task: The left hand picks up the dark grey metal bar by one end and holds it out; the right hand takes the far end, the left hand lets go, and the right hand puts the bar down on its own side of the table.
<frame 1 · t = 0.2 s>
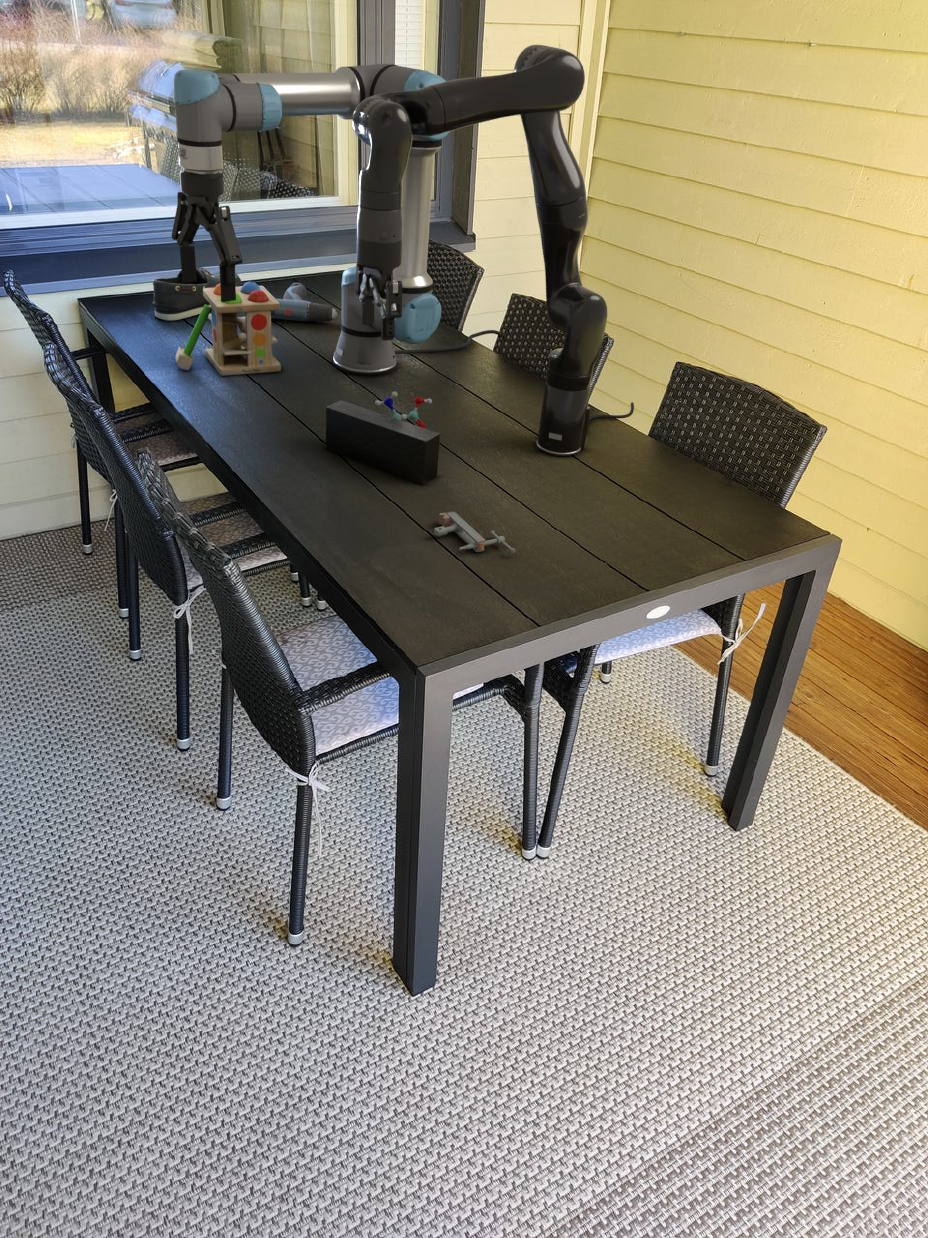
left hand: (208, 290, 186), 28 cm above the table, tool pointing down, fingers open, 13 cm apart
right hand: (377, 331, 171), 29 cm above the table, tool pointing down, fingers open, 8 cm apart
boat shoe: (200, 305, 265), on the table
pounding bench toy: (225, 365, 230), on the table
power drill: (305, 313, 267), on the table
bar: (380, 462, 194), on the table
molecular model: (399, 431, 207), on the table
clamp: (469, 542, 171), on the table
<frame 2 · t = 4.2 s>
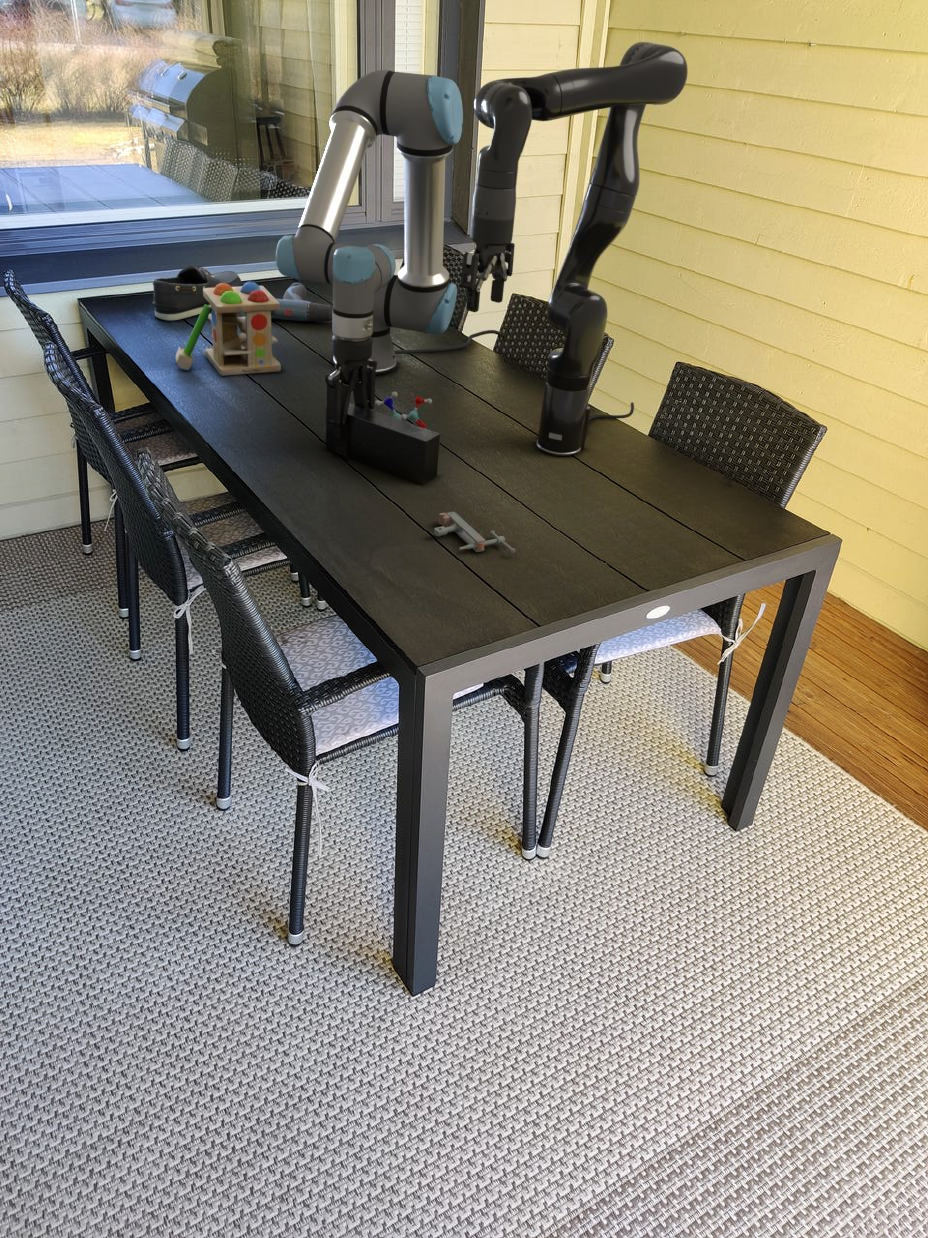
left hand: (350, 449, 197), 1 cm above the table, tool pointing down, fingers closed on bar, 5 cm apart
right hand: (484, 306, 179), 32 cm above the table, tool pointing down, fingers open, 8 cm apart
bar: (380, 462, 194), on the table, touching left hand
everything else where it was.
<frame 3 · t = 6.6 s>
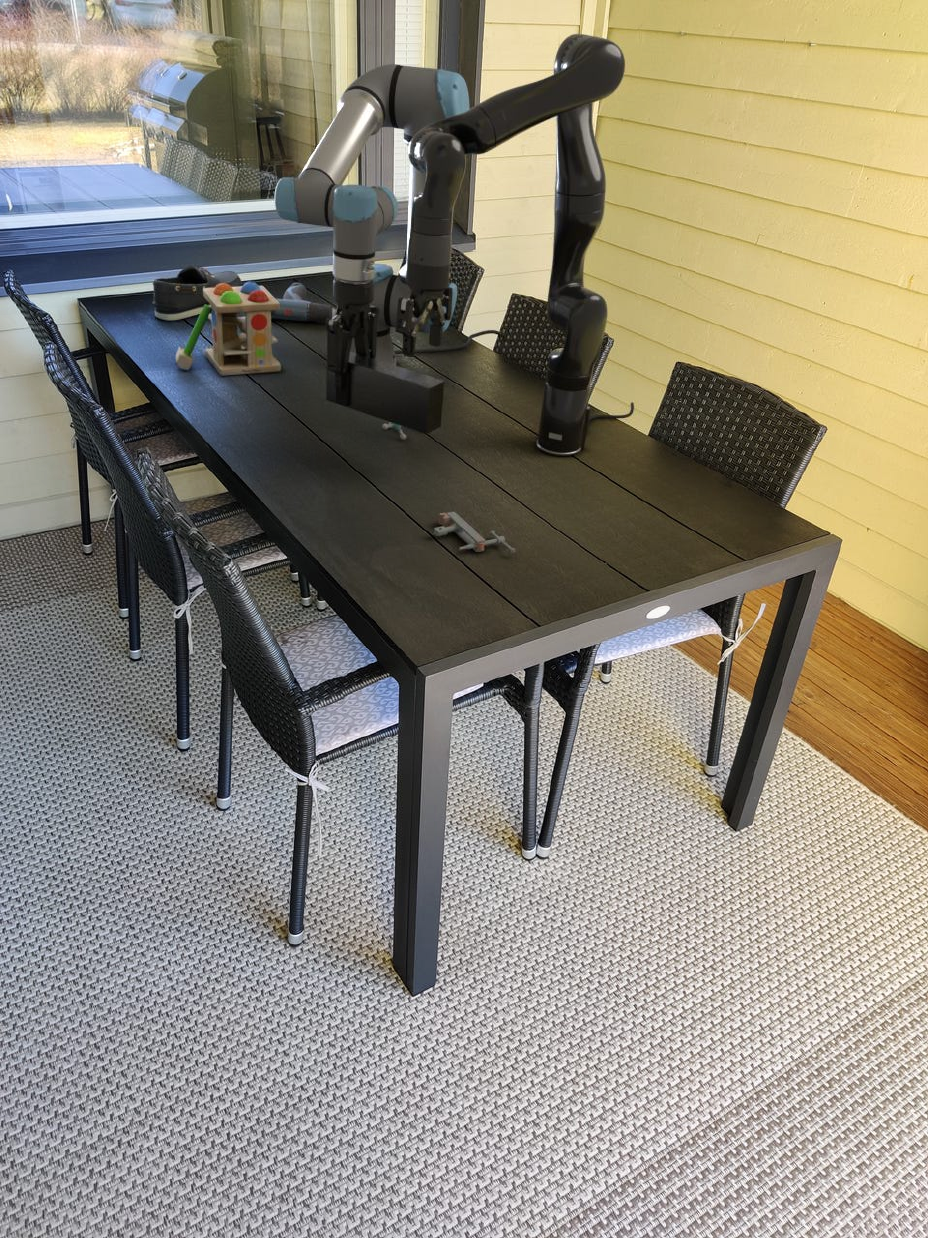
left hand: (351, 399, 191), 11 cm above the table, tool pointing down, fingers closed on bar, 5 cm apart
right hand: (421, 350, 177), 25 cm above the table, tool pointing down, fingers open, 8 cm apart
bar: (382, 413, 188), point 10 cm above the table, touching left hand
everything else where it was.
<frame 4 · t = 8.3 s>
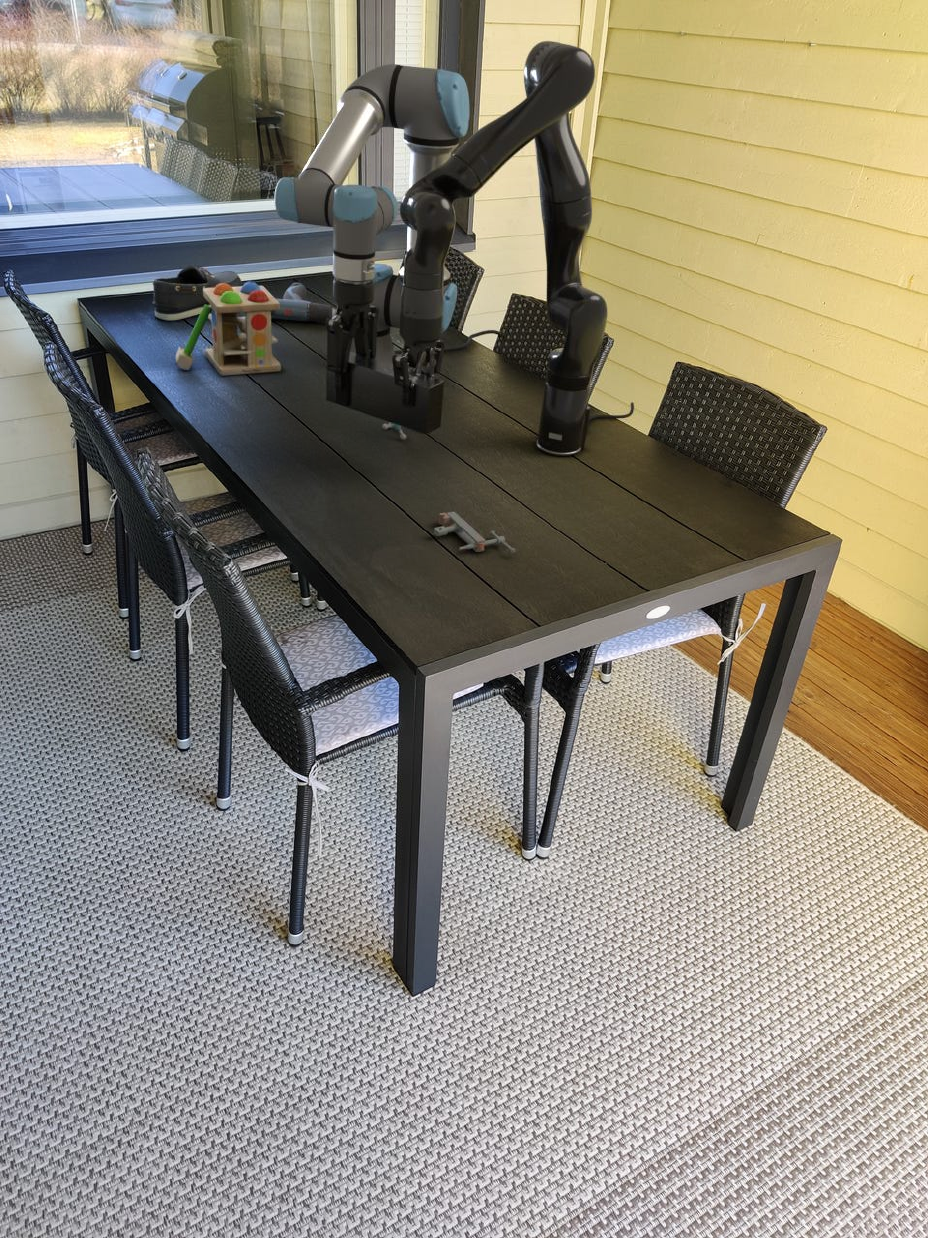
left hand: (351, 399, 191), 11 cm above the table, tool pointing down, fingers closed on bar, 5 cm apart
right hand: (416, 401, 183), 15 cm above the table, tool pointing down, fingers closed on bar, 5 cm apart
bar: (382, 413, 188), point 10 cm above the table, touching left hand, right hand
everything else where it was.
when the left hand's fingers open (11 cm above the table, at t = 9.2 s): bar stays where it is, held by the right hand.
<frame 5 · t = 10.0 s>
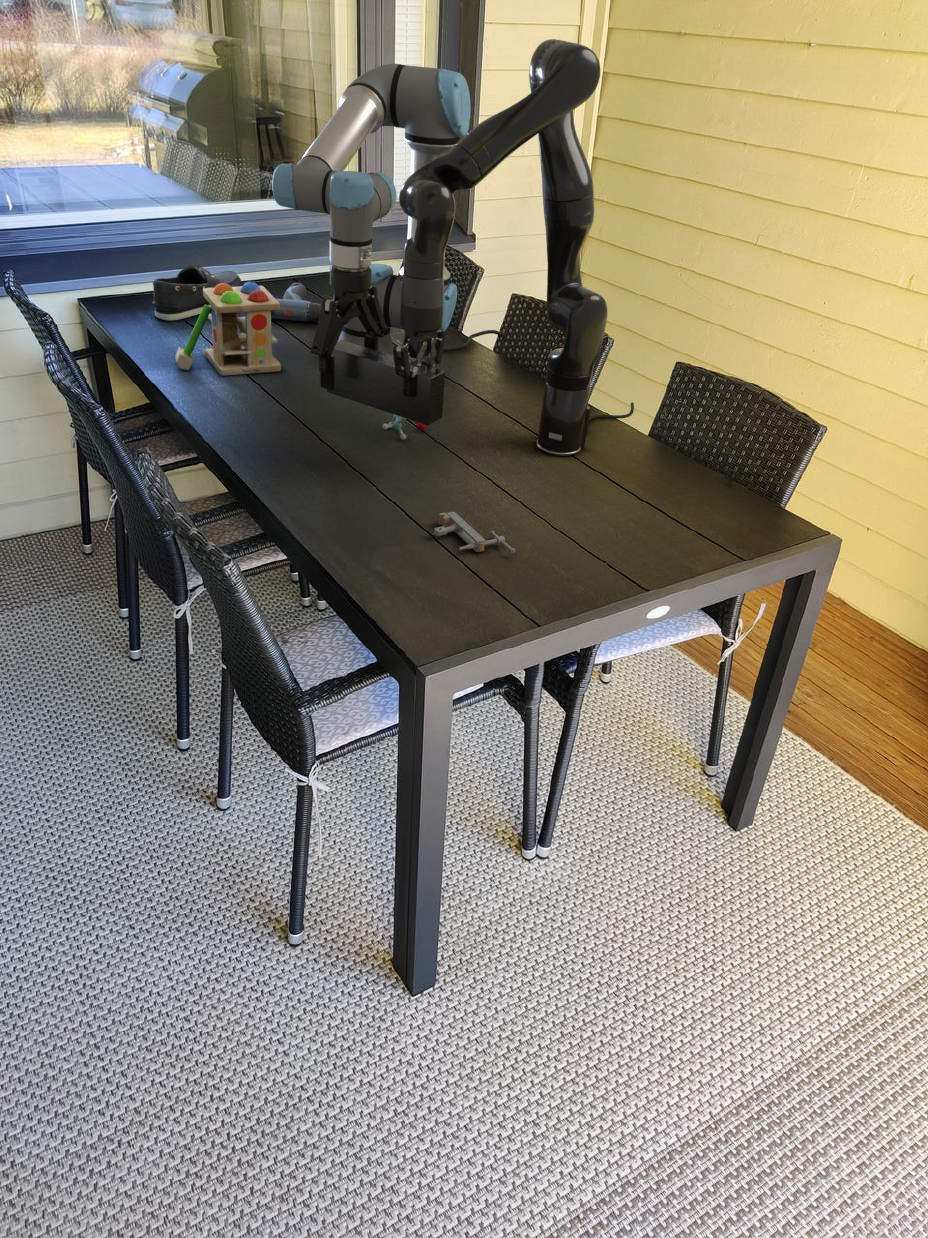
left hand: (349, 378, 189), 15 cm above the table, tool pointing down, fingers open, 13 cm apart
right hand: (417, 391, 182), 17 cm above the table, tool pointing down, fingers closed on bar, 5 cm apart
bar: (383, 404, 187), point 12 cm above the table, touching right hand
everything else where it was.
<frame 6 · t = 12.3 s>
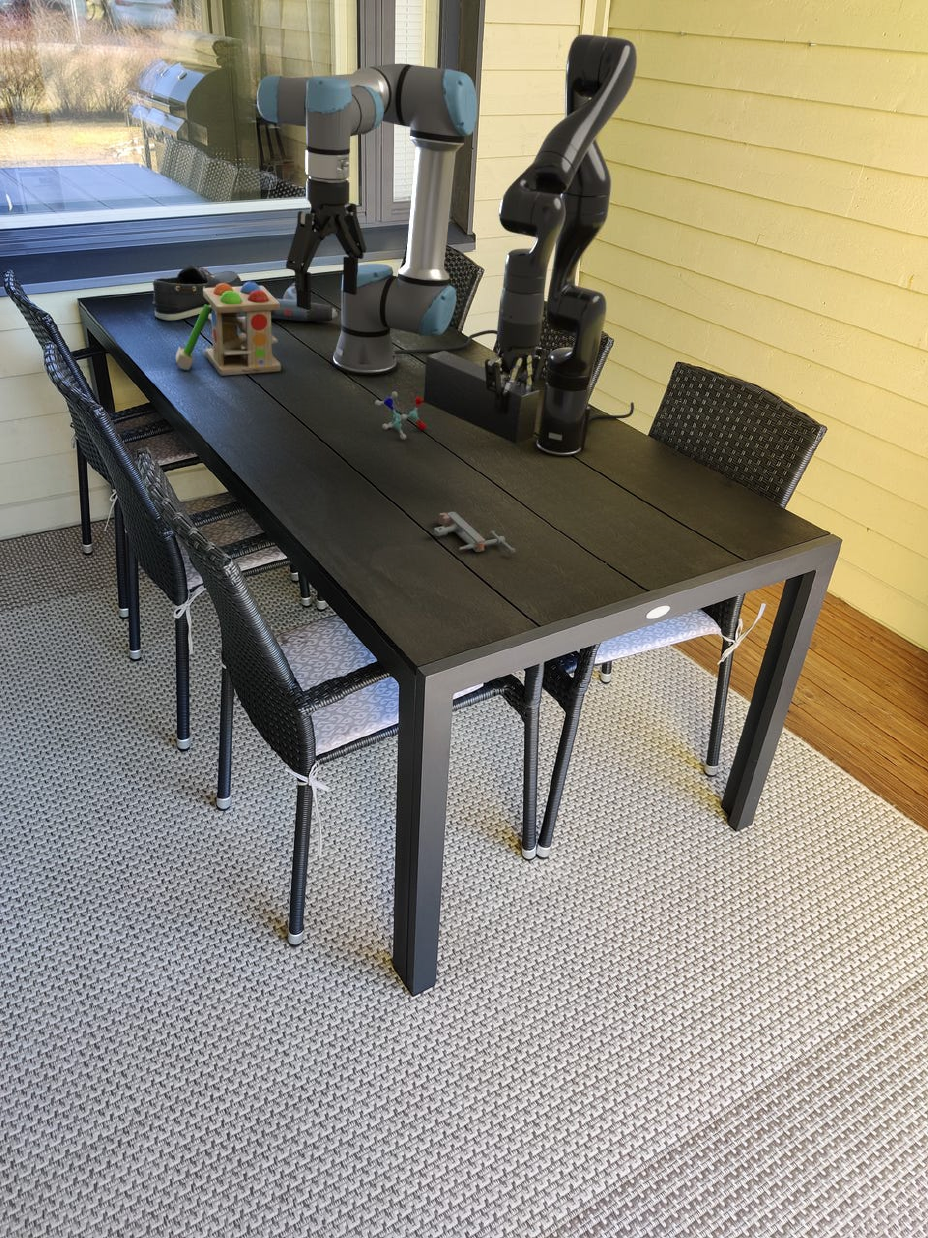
left hand: (327, 300, 183), 29 cm above the table, tool pointing down, fingers open, 13 cm apart
right hand: (510, 409, 176), 18 cm above the table, tool pointing down, fingers closed on bar, 5 cm apart
bar: (477, 419, 182), point 13 cm above the table, touching right hand
everything else where it was.
when the right hand's fingers open (6 cm above the table, at t = 16.3 s): bar drops 2 cm, on the table.
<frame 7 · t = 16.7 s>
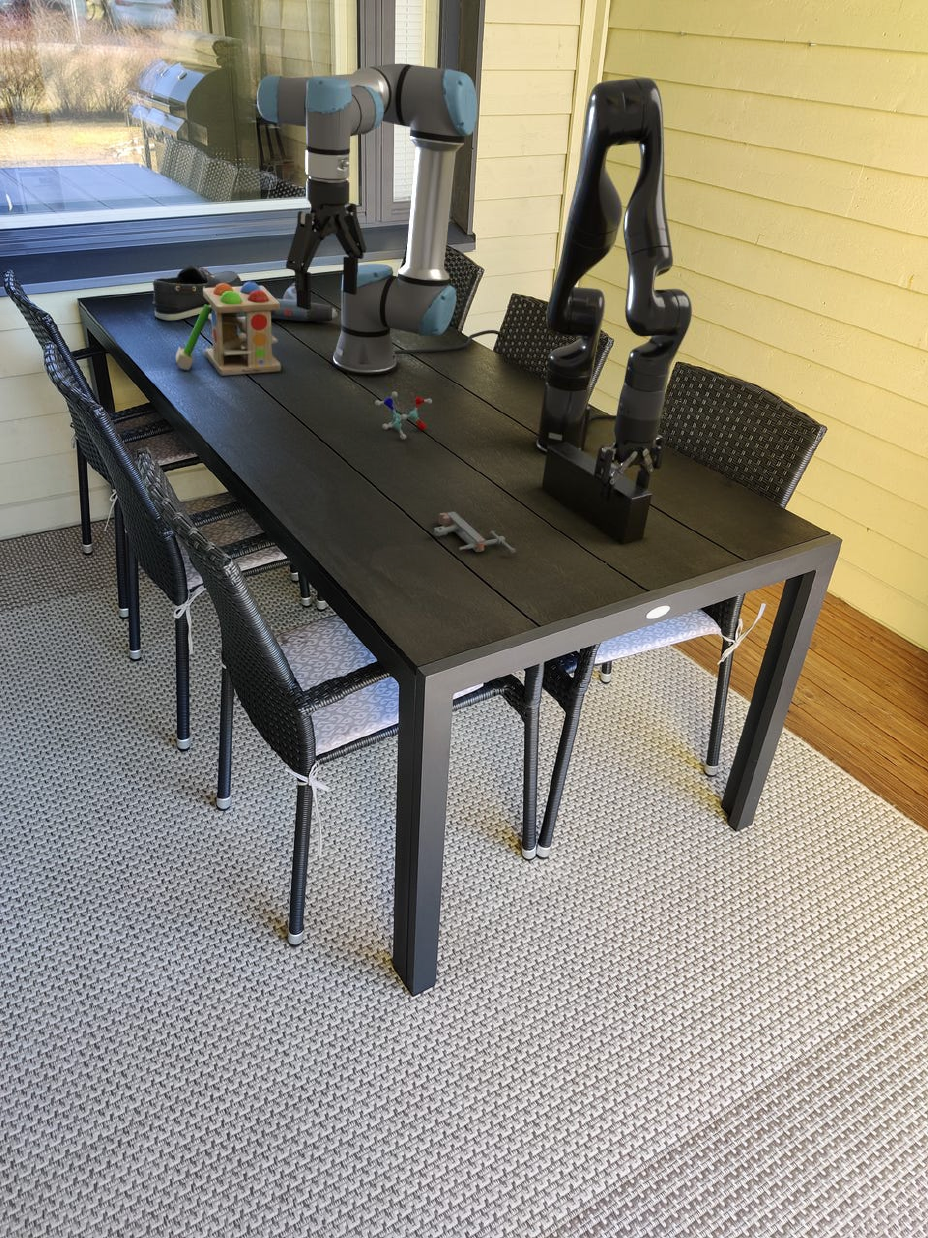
left hand: (327, 300, 183), 29 cm above the table, tool pointing down, fingers open, 13 cm apart
right hand: (623, 495, 175), 7 cm above the table, tool pointing down, fingers open, 8 cm apart
bar: (590, 513, 184), on the table
everything else where it was.
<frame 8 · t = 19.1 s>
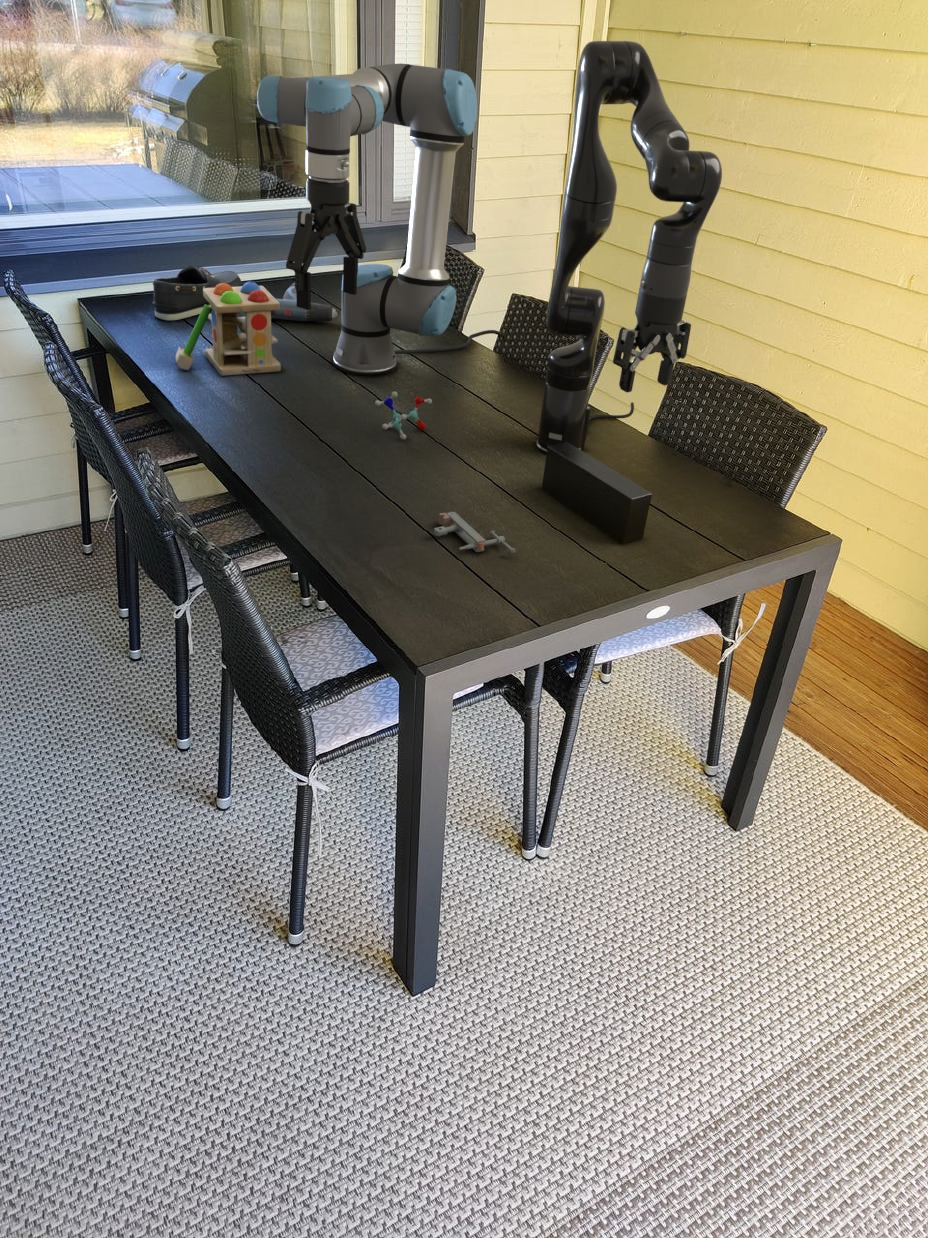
left hand: (327, 300, 183), 29 cm above the table, tool pointing down, fingers open, 13 cm apart
right hand: (644, 387, 164), 27 cm above the table, tool pointing down, fingers open, 8 cm apart
nothing on the table moved.
at the end: bar inside the target area (7.3 cm from its centre), on the table; the left hand is holding nothing; the right hand is holding nothing; bar at rest at the end (0.0 cm/s) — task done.
